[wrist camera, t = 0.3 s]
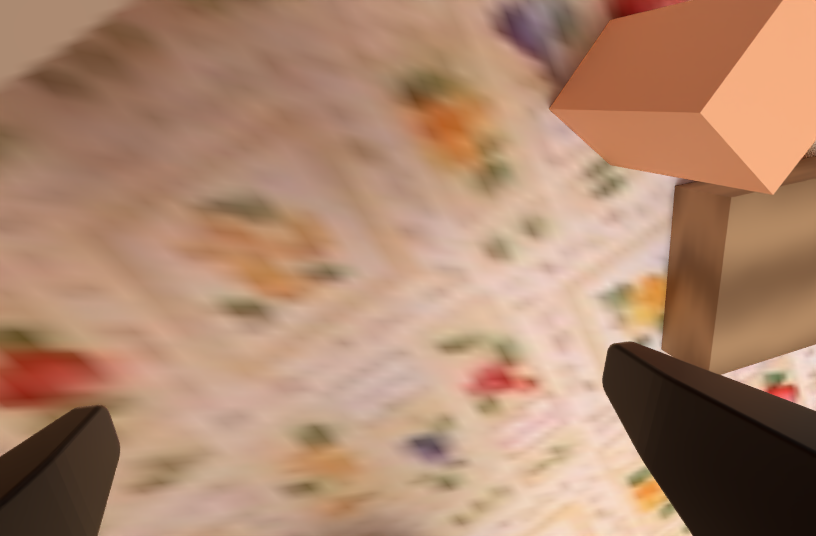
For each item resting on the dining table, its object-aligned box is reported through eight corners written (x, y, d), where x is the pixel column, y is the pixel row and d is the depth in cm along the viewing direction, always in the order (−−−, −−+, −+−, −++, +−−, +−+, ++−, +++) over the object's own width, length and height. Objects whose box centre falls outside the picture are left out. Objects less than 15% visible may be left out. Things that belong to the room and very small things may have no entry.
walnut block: (786, 308, 34) (849, 333, 30) (657, 346, 31) (708, 378, 28) (815, 153, 29) (892, 161, 26) (669, 184, 27) (731, 197, 24)
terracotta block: (610, 164, 25) (773, 194, 17) (548, 109, 23) (700, 112, 15) (668, 84, 25) (865, 75, 16) (610, 20, 23) (802, -27, 14)
